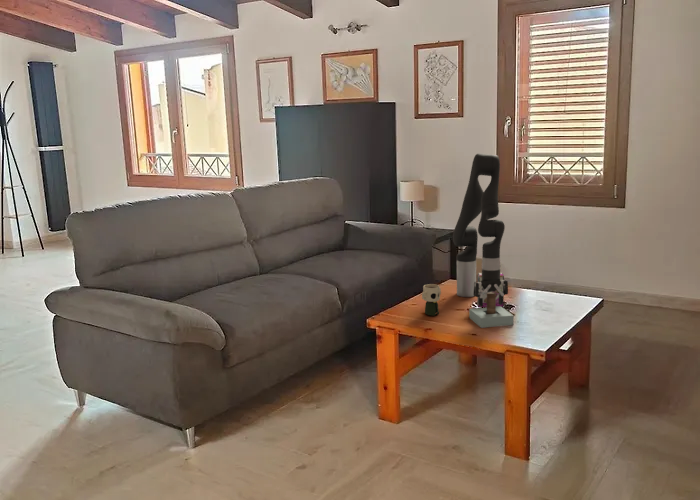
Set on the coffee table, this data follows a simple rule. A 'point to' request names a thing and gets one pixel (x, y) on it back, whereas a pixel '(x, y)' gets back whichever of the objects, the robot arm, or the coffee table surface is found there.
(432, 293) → the character mug
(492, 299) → the peg
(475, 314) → the socket
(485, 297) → the candy bar box
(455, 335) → the coffee table surface
